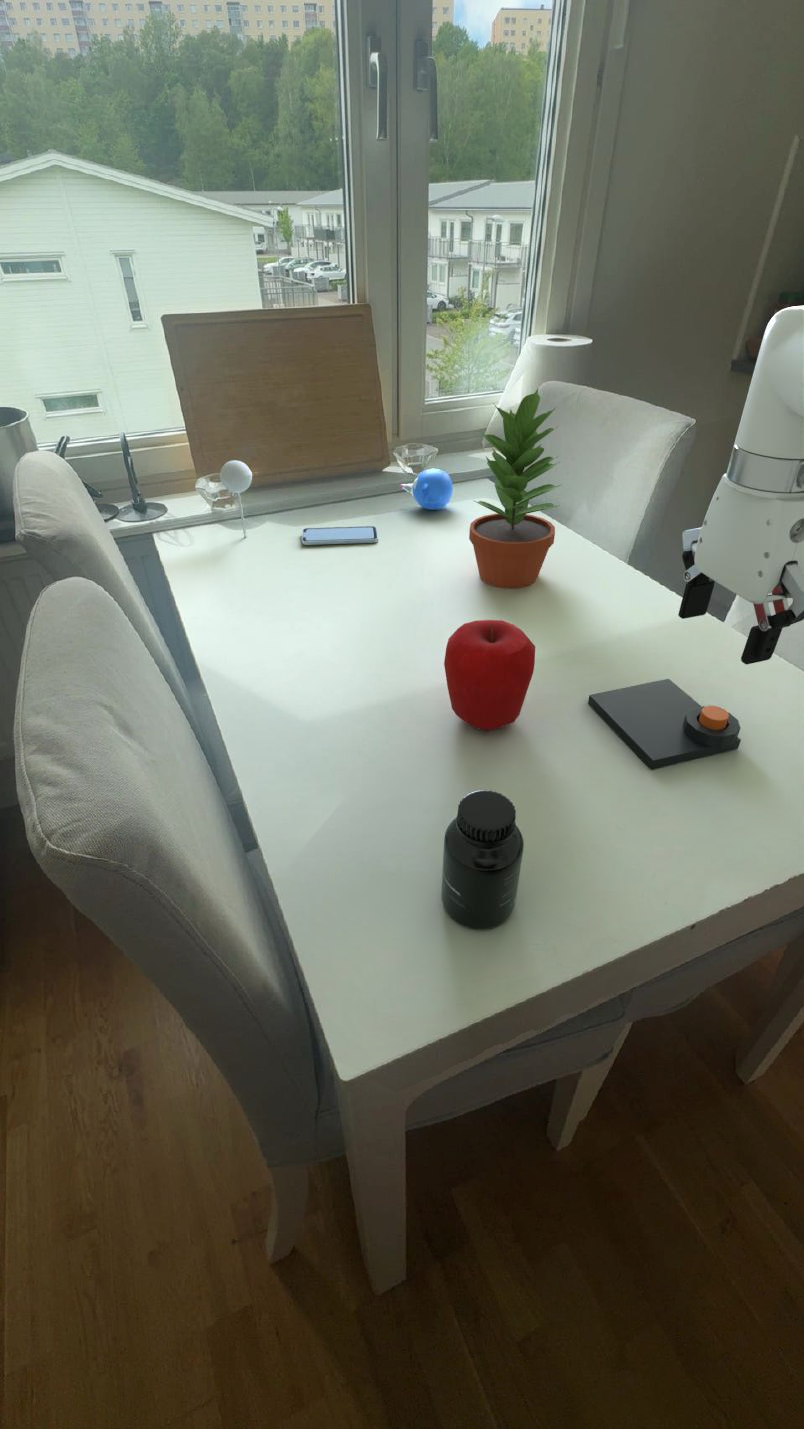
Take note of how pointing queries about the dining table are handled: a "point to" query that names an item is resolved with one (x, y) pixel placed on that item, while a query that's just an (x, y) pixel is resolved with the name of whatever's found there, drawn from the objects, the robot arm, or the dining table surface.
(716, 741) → the scale
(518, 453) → the potted plant
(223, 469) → the lollipop
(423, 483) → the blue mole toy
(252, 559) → the dining table surface
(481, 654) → the apple
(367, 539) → the smartphone
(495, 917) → the supplement bottle
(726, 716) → the button
